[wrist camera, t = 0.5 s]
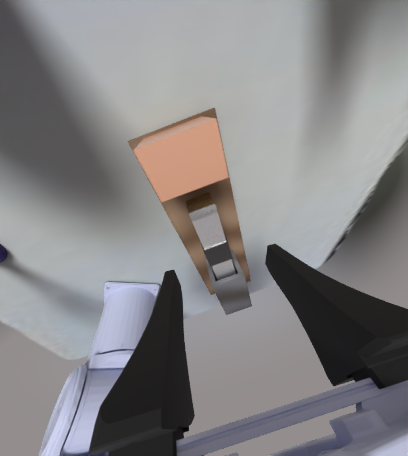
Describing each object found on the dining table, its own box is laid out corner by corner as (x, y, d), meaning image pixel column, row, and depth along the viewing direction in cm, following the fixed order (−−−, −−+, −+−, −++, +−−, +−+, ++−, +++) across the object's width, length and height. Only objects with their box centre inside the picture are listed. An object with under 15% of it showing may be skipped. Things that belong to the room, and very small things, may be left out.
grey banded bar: (238, 285, 28) (244, 300, 26) (223, 290, 28) (228, 306, 26) (210, 191, 17) (216, 203, 14) (184, 200, 17) (186, 214, 14)
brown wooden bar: (249, 278, 31) (262, 305, 27) (210, 291, 31) (217, 320, 27) (213, 108, 14) (233, 106, 10) (129, 140, 14) (113, 153, 10)
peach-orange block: (212, 160, 16) (228, 177, 12) (162, 179, 16) (161, 202, 12) (201, 116, 14) (216, 118, 10) (143, 138, 14) (133, 150, 10)
